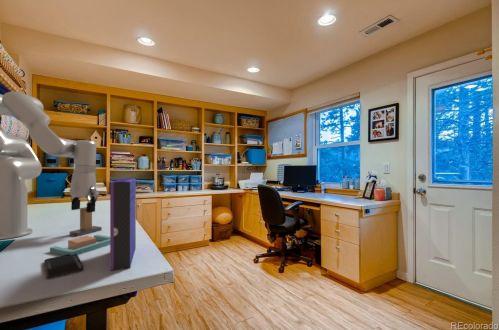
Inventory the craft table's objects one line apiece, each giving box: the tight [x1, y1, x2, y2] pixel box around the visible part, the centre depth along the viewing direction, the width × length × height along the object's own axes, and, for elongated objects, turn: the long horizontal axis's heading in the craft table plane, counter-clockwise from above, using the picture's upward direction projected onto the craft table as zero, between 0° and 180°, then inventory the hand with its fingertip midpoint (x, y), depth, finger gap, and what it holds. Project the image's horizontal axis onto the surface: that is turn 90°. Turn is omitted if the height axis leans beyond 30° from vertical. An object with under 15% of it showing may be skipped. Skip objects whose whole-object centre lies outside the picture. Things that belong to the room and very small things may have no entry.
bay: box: [49, 234, 110, 256], centre depth 84 cm, size 11×16×2 cm
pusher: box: [69, 206, 103, 238], centre depth 101 cm, size 10×5×11 cm, turn 157°
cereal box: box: [109, 177, 137, 272], centre depth 74 cm, size 17×5×24 cm, turn 21°
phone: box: [43, 254, 84, 280], centre depth 68 cm, size 8×1×15 cm
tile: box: [67, 235, 97, 250], centre depth 84 cm, size 6×6×3 cm
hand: (83, 210), depth 101 cm, fingers open, 9 cm apart
